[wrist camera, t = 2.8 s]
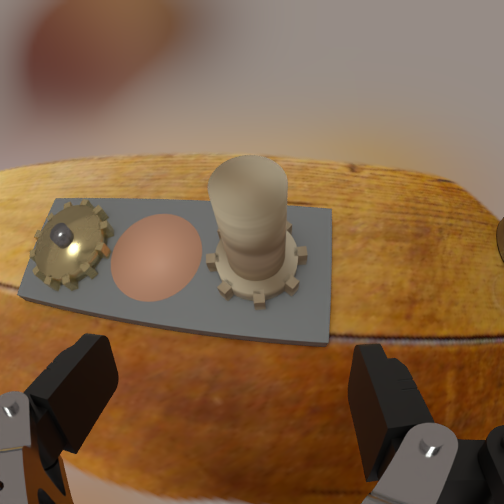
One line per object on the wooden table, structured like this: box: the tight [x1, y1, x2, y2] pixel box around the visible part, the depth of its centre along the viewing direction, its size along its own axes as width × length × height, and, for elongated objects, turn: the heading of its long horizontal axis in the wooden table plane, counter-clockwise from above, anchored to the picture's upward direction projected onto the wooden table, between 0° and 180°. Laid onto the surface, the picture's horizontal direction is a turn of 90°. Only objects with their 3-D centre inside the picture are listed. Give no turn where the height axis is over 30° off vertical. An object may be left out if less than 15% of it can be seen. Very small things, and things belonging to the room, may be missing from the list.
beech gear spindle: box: [206, 155, 308, 310], centre depth 22 cm, size 8×8×10 cm
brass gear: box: [30, 199, 114, 291], centre depth 27 cm, size 9×9×3 cm
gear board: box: [17, 198, 332, 347], centre depth 28 cm, size 30×12×2 cm, turn 83°
